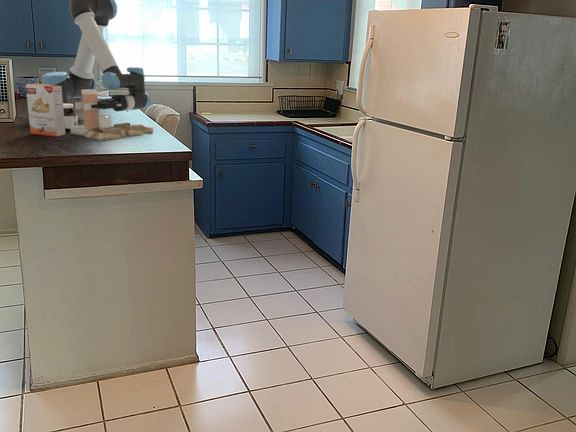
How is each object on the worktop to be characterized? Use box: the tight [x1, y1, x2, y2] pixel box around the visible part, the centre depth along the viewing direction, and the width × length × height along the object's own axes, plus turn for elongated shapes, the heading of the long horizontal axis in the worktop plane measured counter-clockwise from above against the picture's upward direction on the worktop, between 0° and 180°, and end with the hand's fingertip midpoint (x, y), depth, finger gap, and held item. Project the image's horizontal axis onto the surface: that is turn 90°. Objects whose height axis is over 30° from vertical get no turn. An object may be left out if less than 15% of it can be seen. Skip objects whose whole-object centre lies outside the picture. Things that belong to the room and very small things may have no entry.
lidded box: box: [81, 89, 100, 128], centre depth 246 cm, size 5×5×16 cm
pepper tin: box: [98, 114, 112, 133], centre depth 239 cm, size 5×5×9 cm
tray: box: [69, 124, 114, 137], centre depth 248 cm, size 12×14×3 cm
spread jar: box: [63, 103, 79, 133], centre depth 253 cm, size 12×11×12 cm
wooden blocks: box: [85, 122, 154, 141], centre depth 247 cm, size 12×28×4 cm, turn 148°
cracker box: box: [25, 83, 67, 138], centre depth 238 cm, size 14×6×21 cm, turn 70°
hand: (80, 106), depth 241 cm, fingers closed on lidded box, 5 cm apart
